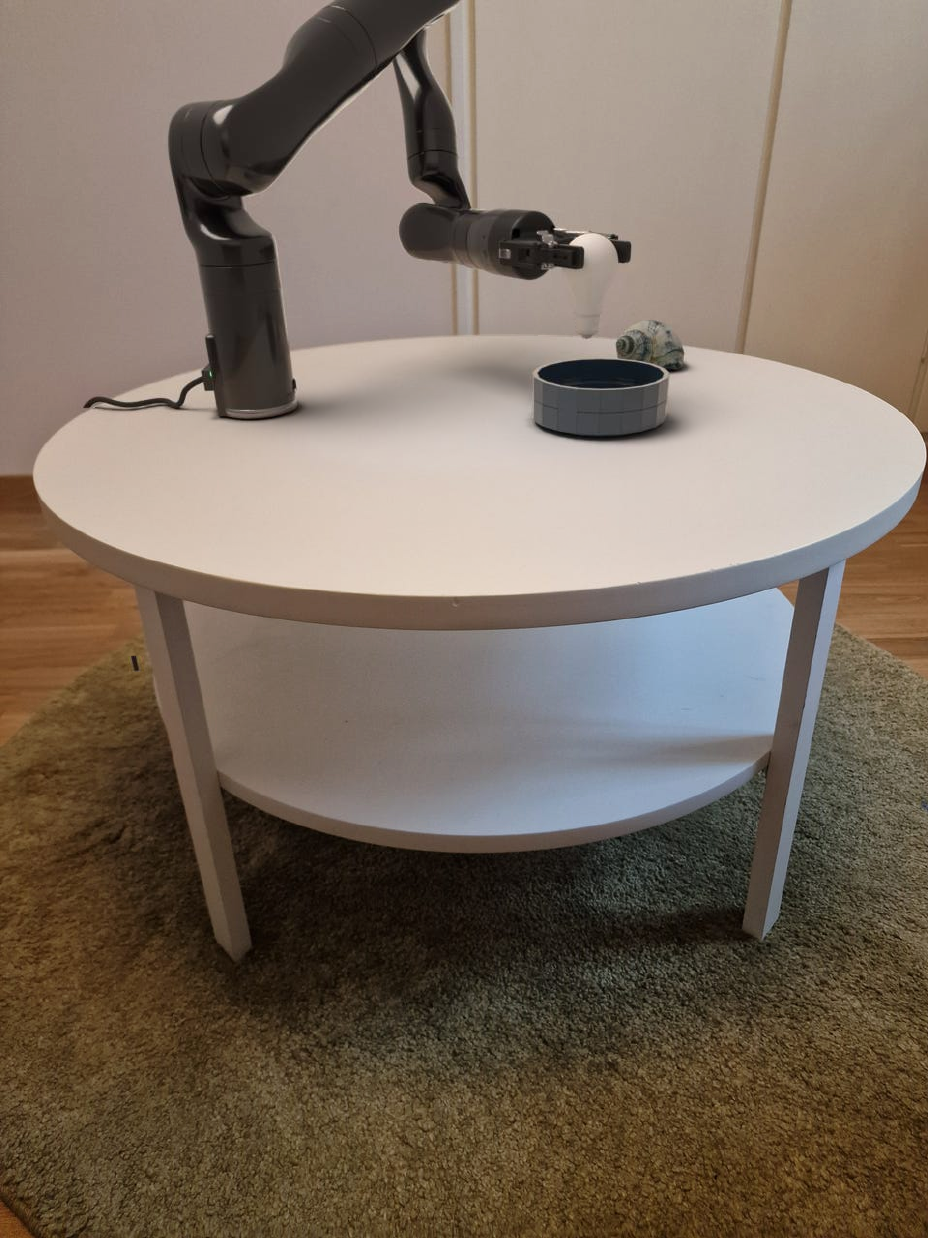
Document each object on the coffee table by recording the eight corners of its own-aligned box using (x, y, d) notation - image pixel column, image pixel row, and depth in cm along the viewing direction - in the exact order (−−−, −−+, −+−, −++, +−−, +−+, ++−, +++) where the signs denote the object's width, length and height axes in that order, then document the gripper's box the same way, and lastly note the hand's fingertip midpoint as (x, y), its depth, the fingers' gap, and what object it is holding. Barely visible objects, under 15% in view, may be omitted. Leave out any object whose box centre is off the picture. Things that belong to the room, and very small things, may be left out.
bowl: (539, 443, 92) (540, 392, 89) (526, 405, 105) (526, 360, 103) (679, 438, 92) (684, 387, 90) (648, 401, 105) (652, 355, 103)
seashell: (691, 380, 120) (609, 385, 118) (674, 347, 125) (595, 352, 123) (704, 341, 115) (619, 346, 113) (686, 309, 120) (604, 313, 118)
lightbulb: (556, 343, 95) (559, 236, 90) (563, 332, 100) (566, 230, 95) (611, 344, 94) (617, 236, 88) (615, 333, 99) (621, 229, 93)
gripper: (461, 212, 98) (554, 221, 85) (558, 205, 105) (657, 211, 92) (462, 282, 101) (552, 300, 89) (556, 270, 108) (651, 285, 96)
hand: (605, 255), depth 91 cm, fingers closed on lightbulb, 6 cm apart
